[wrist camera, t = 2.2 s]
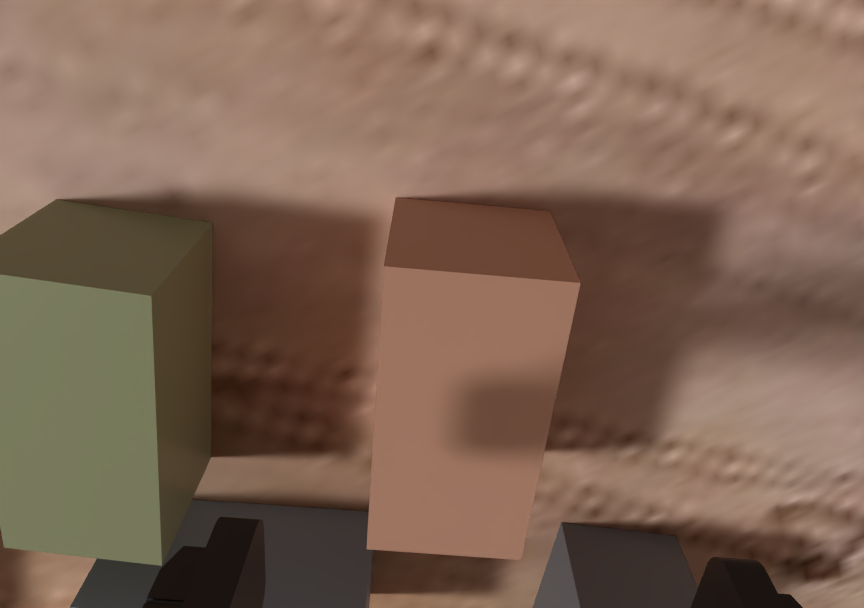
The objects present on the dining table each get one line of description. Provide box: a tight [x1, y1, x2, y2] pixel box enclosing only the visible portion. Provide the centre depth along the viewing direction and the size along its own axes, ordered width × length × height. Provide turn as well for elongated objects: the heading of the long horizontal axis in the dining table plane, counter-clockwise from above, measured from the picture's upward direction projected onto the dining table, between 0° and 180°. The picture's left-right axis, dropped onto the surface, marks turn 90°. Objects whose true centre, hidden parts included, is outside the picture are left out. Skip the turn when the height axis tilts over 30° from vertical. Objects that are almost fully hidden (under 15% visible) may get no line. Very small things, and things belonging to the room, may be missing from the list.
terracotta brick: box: [367, 198, 581, 560], centre depth 17 cm, size 8×4×4 cm, turn 175°
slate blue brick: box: [70, 500, 373, 608], centre depth 21 cm, size 8×4×4 cm, turn 85°
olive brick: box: [0, 199, 213, 566], centre depth 17 cm, size 8×4×4 cm, turn 171°
